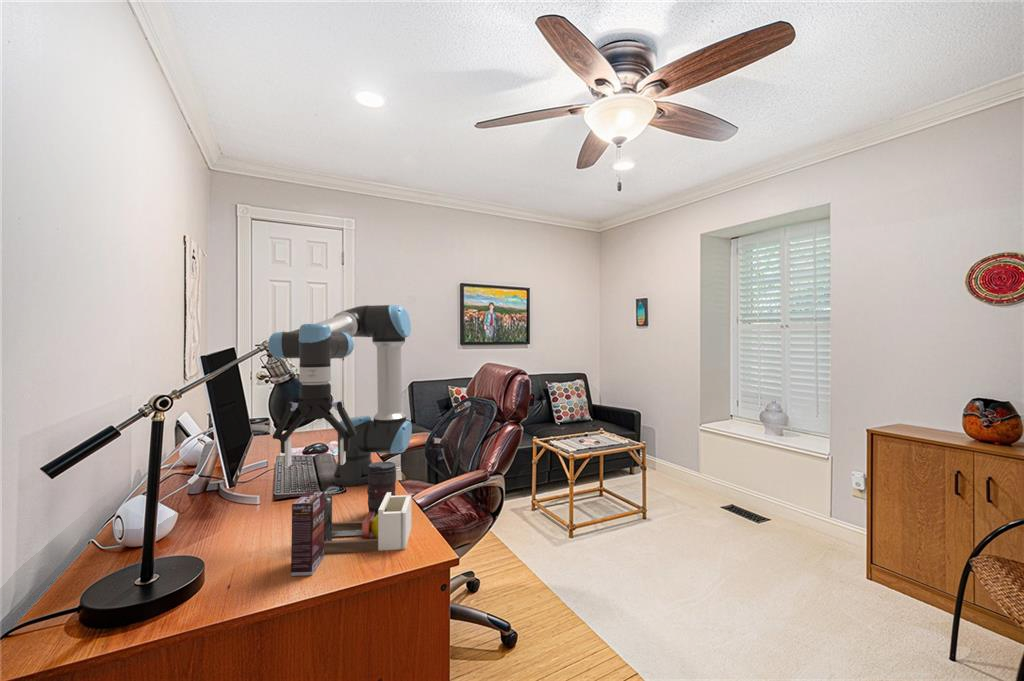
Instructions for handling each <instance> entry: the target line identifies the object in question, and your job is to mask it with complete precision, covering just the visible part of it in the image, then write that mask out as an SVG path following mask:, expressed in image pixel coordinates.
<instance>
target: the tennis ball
mask: <svg viewBox="0 0 1024 681" xmlns="http://www.w3.org/2000/svg"><path fill="white" fill-rule="evenodd" d="M385 512H388V511H385ZM371 532H372V534H373V536H372V537H374V539H378V514H377V515H376V516H375V517H374V519H373V521H372V524H371Z"/></svg>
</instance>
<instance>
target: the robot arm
mask: <svg viewBox="0 0 1024 681" xmlns="http://www.w3.org/2000/svg"><path fill="white" fill-rule="evenodd" d="M411 331H412V325H411V319H410V315H409V313H408V310H407V309H406V308H405V307H404V306H403V305H397V304H396V305H394V304H390V305H389V304H384V305H380V304H379V305H360V306H356V307H355V306H354V307H352V308H348V309H345V310H342V311H339V312H338V313H335V314H334V316H333V317H332V318H331V317H330V318H329V319H326V320H325V319H324V320H322V321H319V322H316V323H303V324H301V325H300V326H299V328H298V329H295V330H292V331H284V330H283V331H279V332H278V331H276V332H273V333H272V334H271V335H270V337H269V339H268V342H267V346H268V352H269V354H270V355H271V356H272V357H274V358H277V359H284V360H286V359H299V366H298V369H299V372H298V374H299V376H298V377H299V383H300V385H299V386H298V387H299V390H298V392H299V393H298V395H299V402H294V401H289V402H287V403H286V404H285V411H284V413H283V415H282V417H281V419H280V421H279V423H278V424H277V427H276V429H275V431H274V432H273V435H272V439H273V440H279V441H280V453H281V454H284V468H289V467H290V466H291V465H292V438H289V437H290V436H291V435H293V433H294V432H295V431H296V430H297V428H298V427H299V426H300V425H301V424H302V423H303V422H304V420H306V419H307V420H322V419H324V420H325V421H327V422H328V423H329V424H330V425H331V427H333V429H334V430H335V431H336V432H337V462H336V465H335V468H334V471H333V475H332V483H333V482H334V483H335V484H334V483H333V484H334V485H336V484H339V485H338V486H340V485H342V486H343V487H352V486H361V485H365V484H368V469H369V465H370V464H371V463H373V460H372V453H373V454H374V453H375V454H376V453H378V454H381V453H383V454H392V455H393V454H401V453H404V452H405V451H406V450H407V449H408V447H409V444H410V443H411V439H412V433H413V426H412V422H411V421H409V420H407V414H405V412H403V403H402V401H403V400H402V399H403V398H402V392H403V391H402V388H403V386H402V346H403V345H404V344H405V343H406V338H408V337H410V335H411ZM355 337H356V338H358V337H359V338H371V340H372V344H373V345H374V346H375V347H376V375H377V376H376V378H377V381H376V384H377V386H376V387H377V388H376V389H377V394H376V395H377V413H376V414H374V415H373V419H372V417H371V416H370V415H359V416H355V417H350V416H349V414H348V413H347V411H346V408H345V402H344V400H339V401H334V402H333V401H332V386H331V384H330V382H331V380H332V374H331V373H332V372H331V368H332V366H331V365H332V364H331V360H332V359H334V360H335V359H342V358H346V357H348V356H350V355H351V354H352V353H353V351H354V348H355V342H354V339H353V338H355ZM332 408H333V409H335V410H336V411H337V413H338V414H339V415H338V416H339V417H340V418H341V420H340V421H339V420H337V418H336V417H335V416H334V414H333V413H332V412H331V409H332ZM297 409H298V410H299V411H300V414H299V416H297V418H296V419H295V420H294V422H292V424H291V425H290V426H289V427H288V429H287V430H286V431H285V432H284V430H285V429H286V427H287V424H288V422H289V421H290V418H291V417H292V415H293V412H294V411H296V410H297ZM283 432H284V433H283ZM342 486H341V487H342Z"/></svg>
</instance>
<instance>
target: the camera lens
mask: <svg viewBox="0 0 1024 681" xmlns="http://www.w3.org/2000/svg"><path fill="white" fill-rule="evenodd" d="M396 481H397V467H396V463H395V462H392V461H376V462H372V463H371V464H370V465H369V469H368V483H367V485H368V487H367V490H366V491H367V492H366V494H367V508H368V512H374V517H375V516H376V515H377V514H378V509H379V507H380V505H381V503H382V501H383V499H384V497H385V495H386V493H387V492H391V496H397V494H396V483H397V482H396ZM385 511H386V509H385ZM385 511H384V512H385Z"/></svg>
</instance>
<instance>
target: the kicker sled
mask: <svg viewBox="0 0 1024 681" xmlns="http://www.w3.org/2000/svg"><path fill="white" fill-rule="evenodd" d="M373 519H374V512H369V511H368V512H367V514H366V516H365V518H364V520H362V521H363V523H362V529H361V530H339V531H332V522H333V496H332V495H324V541H343V540H344V539H333V537H348V536H362V537H361V538H355V539H354V538H353V539H352V538H351V539H349V540H364V539H373V537H374V536H373V534H372V532H371V524H372V521H373Z"/></svg>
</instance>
